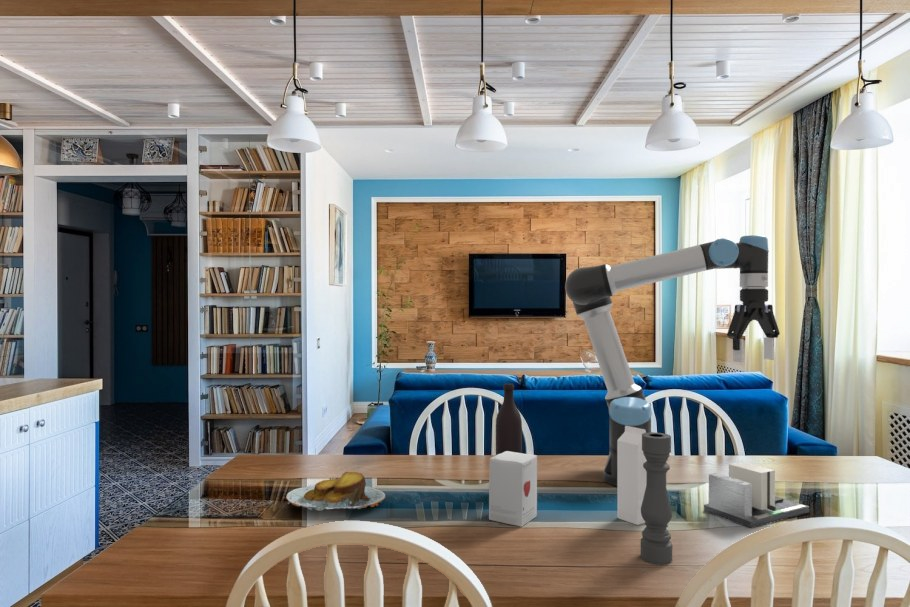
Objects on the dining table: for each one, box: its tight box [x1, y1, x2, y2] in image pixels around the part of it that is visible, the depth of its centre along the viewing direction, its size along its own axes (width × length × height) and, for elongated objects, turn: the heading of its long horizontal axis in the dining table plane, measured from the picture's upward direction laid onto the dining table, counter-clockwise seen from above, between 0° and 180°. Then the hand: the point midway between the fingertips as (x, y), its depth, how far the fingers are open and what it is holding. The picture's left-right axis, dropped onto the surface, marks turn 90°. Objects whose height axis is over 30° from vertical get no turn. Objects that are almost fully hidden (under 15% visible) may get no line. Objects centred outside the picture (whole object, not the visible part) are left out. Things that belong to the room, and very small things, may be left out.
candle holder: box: [640, 431, 673, 566], centre depth 124 cm, size 6×6×25 cm
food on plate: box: [285, 471, 387, 512], centre depth 159 cm, size 25×25×7 cm
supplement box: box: [488, 451, 538, 528], centre depth 147 cm, size 9×9×15 cm
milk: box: [616, 426, 647, 526], centre depth 147 cm, size 6×6×22 cm
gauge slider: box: [728, 461, 776, 511], centre depth 150 cm, size 5×11×9 cm, turn 28°
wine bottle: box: [495, 383, 523, 456], centre depth 165 cm, size 7×7×30 cm
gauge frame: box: [703, 472, 810, 529], centre depth 152 cm, size 22×13×10 cm, turn 118°
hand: (753, 360), depth 180 cm, fingers open, 13 cm apart
